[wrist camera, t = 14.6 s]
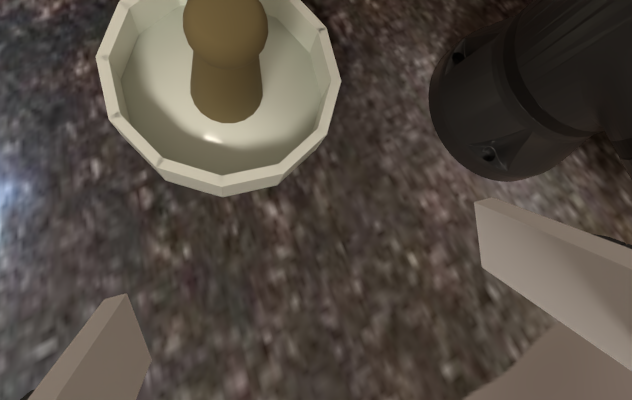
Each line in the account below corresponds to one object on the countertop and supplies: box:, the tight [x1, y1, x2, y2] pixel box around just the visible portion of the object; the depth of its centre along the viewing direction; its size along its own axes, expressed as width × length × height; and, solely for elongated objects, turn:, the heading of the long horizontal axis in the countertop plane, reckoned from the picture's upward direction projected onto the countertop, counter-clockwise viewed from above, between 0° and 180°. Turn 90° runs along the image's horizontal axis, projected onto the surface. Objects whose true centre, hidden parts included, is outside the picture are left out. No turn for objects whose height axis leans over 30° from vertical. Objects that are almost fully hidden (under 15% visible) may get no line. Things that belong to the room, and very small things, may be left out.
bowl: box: [96, 0, 341, 197], centre depth 33 cm, size 18×18×4 cm
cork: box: [183, 0, 268, 123], centre depth 29 cm, size 6×6×11 cm
